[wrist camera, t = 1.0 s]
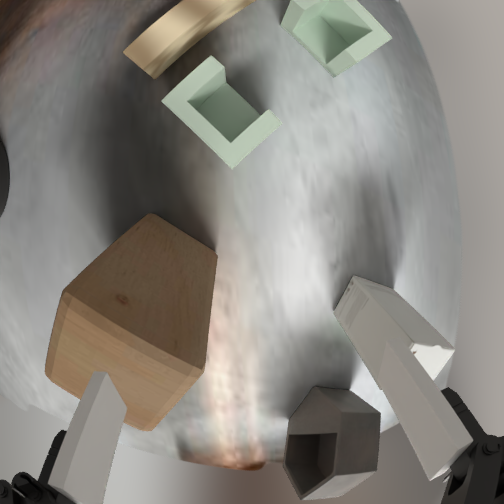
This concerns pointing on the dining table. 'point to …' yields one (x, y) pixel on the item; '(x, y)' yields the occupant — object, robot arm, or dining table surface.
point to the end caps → (261, 126)
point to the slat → (179, 32)
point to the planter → (331, 443)
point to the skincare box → (388, 326)
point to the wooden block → (137, 320)
